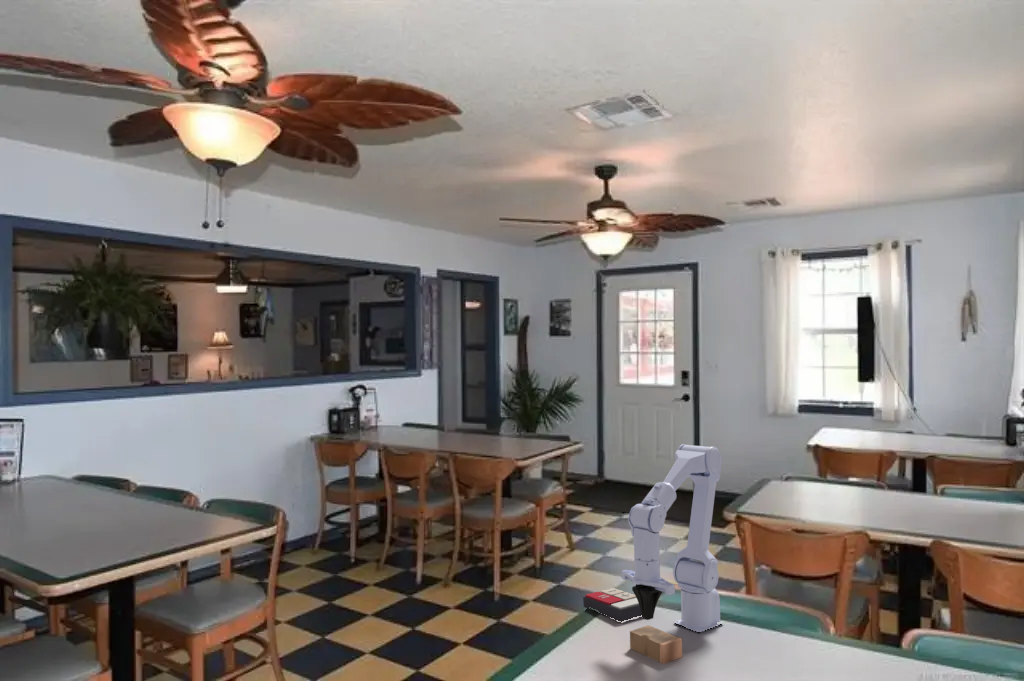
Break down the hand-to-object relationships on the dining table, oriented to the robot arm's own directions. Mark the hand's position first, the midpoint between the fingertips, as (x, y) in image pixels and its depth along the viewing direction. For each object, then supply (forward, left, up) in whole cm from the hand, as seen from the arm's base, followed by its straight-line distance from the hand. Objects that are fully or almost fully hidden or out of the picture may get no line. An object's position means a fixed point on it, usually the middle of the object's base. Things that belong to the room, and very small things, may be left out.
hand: (648, 618), depth 157 cm
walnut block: (0, -3, -5) cm, 6 cm away
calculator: (-12, -22, -8) cm, 26 cm away
